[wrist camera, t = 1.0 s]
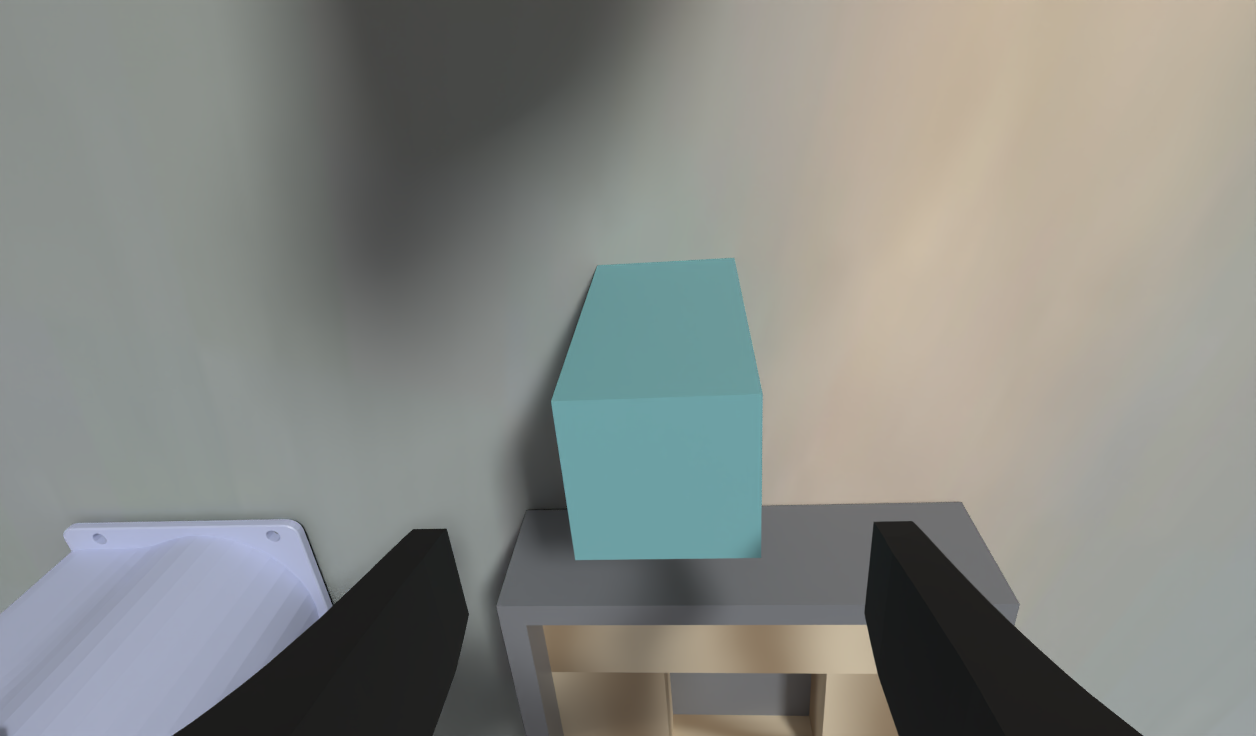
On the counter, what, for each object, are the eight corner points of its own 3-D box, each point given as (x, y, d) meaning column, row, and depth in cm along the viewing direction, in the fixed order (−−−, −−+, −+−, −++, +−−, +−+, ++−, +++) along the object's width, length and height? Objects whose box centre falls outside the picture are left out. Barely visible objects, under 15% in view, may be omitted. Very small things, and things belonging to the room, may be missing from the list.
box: (575, 769, 31) (559, 879, 27) (526, 510, 25) (496, 606, 21) (913, 776, 30) (949, 893, 26) (961, 501, 23) (1019, 603, 19)
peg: (609, 384, 22) (575, 559, 15) (597, 265, 20) (550, 401, 13) (735, 379, 22) (761, 558, 15) (734, 258, 20) (762, 393, 13)
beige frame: (588, 771, 30) (581, 828, 28) (548, 538, 24) (535, 588, 22) (900, 777, 29) (917, 838, 27) (939, 532, 23) (965, 585, 21)
